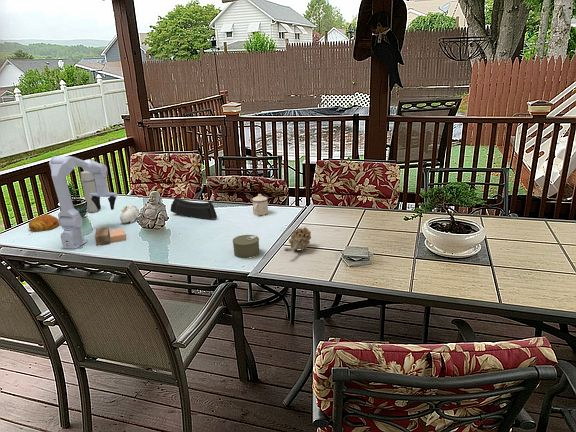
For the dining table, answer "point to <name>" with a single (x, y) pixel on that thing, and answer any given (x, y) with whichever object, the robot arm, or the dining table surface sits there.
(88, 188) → the water bottle
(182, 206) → the magazine
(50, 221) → the croissant
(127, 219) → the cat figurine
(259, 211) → the teacup with lid
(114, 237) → the peach rectangular prism
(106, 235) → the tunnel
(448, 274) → the dining table surface
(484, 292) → the dining table surface
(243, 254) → the can
